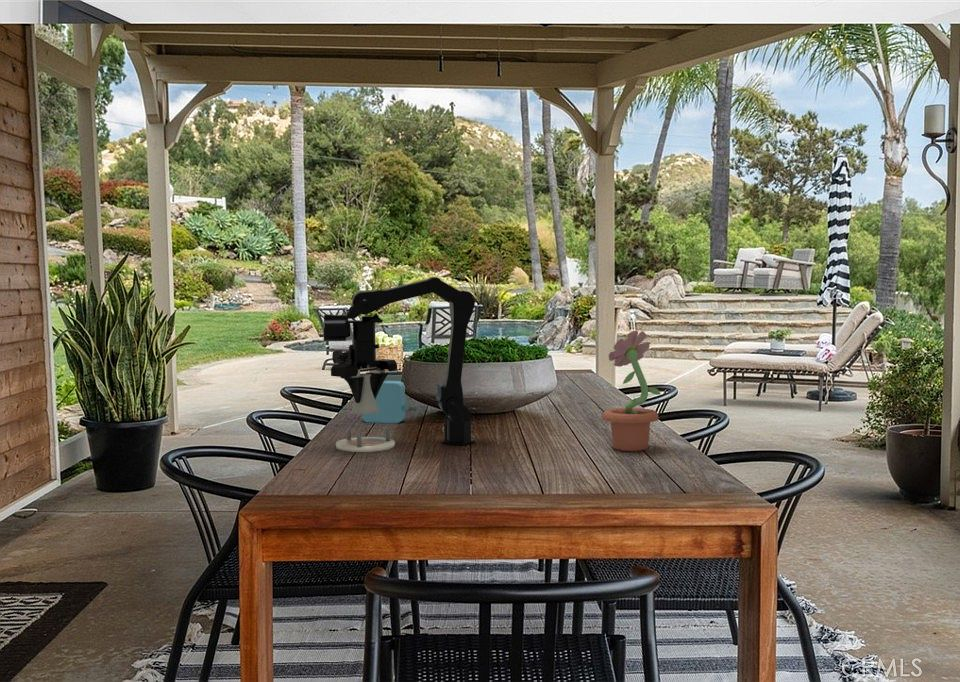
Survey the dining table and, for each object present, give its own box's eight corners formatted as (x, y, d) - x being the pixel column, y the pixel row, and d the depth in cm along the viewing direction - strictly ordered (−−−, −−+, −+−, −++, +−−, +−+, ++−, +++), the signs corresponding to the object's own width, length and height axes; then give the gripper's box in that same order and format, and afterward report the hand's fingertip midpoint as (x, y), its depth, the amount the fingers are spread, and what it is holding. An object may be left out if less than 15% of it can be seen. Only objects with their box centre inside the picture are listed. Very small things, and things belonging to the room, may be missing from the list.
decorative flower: (639, 441, 239) (640, 327, 236) (673, 450, 227) (674, 330, 224) (591, 446, 232) (592, 329, 230) (624, 456, 220) (625, 332, 217)
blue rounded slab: (405, 421, 271) (405, 381, 270) (401, 423, 267) (401, 383, 266) (366, 419, 274) (366, 380, 273) (362, 422, 269) (361, 382, 268)
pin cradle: (407, 445, 235) (406, 429, 234) (365, 454, 223) (365, 438, 222) (365, 438, 244) (365, 423, 243) (323, 447, 232) (323, 431, 232)
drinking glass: (415, 408, 296) (415, 371, 295) (405, 413, 286) (405, 375, 285) (385, 407, 298) (385, 370, 297) (375, 412, 288) (374, 374, 287)
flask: (377, 415, 229) (376, 375, 228) (348, 415, 229) (347, 375, 228) (381, 410, 236) (380, 372, 235) (353, 410, 236) (353, 372, 236)
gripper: (367, 336, 243) (368, 394, 245) (314, 341, 229) (316, 403, 230) (398, 338, 237) (399, 398, 238) (346, 343, 222) (347, 407, 223)
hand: (365, 401), depth 232 cm, fingers closed on flask, 5 cm apart
